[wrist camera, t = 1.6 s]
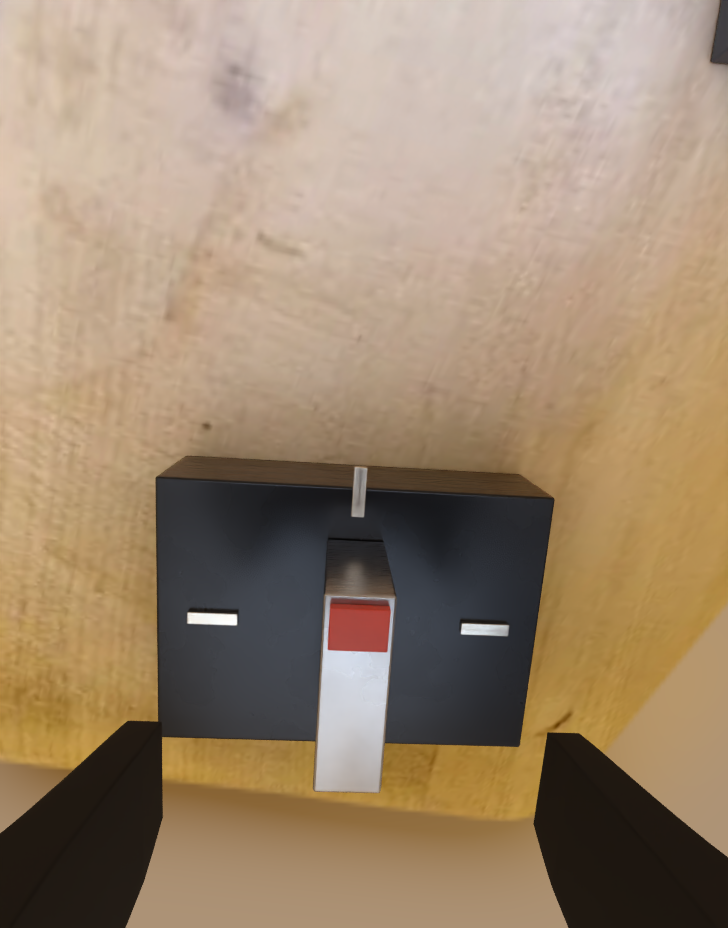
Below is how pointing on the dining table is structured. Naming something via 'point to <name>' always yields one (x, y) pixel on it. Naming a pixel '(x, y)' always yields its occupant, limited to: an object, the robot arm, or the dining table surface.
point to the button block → (721, 36)
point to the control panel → (302, 591)
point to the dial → (354, 667)
